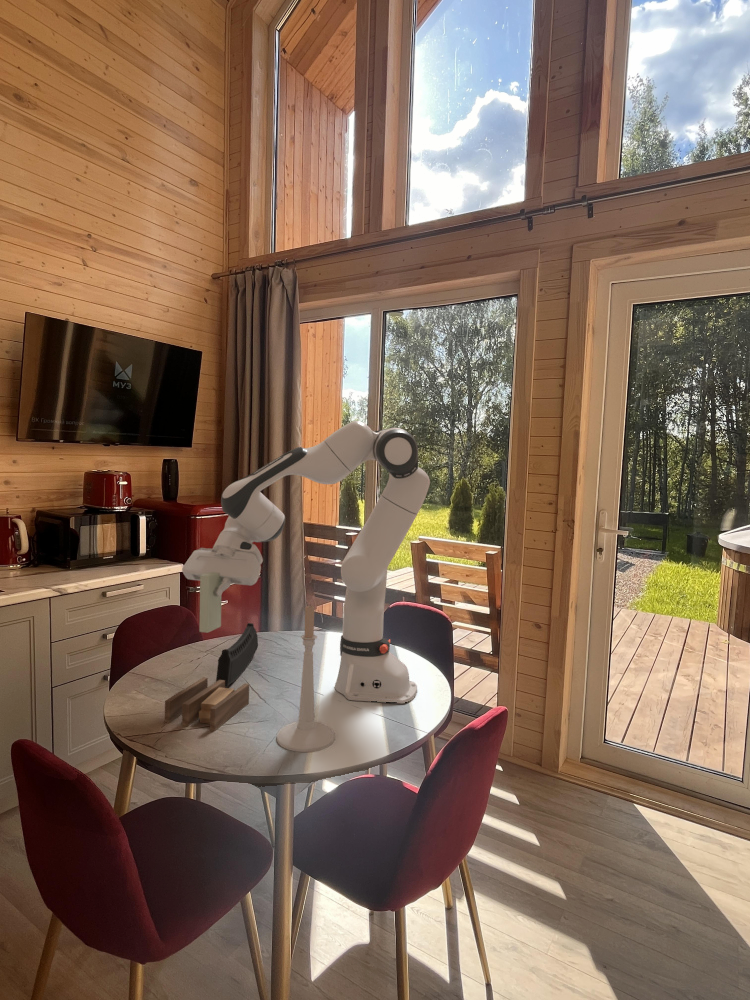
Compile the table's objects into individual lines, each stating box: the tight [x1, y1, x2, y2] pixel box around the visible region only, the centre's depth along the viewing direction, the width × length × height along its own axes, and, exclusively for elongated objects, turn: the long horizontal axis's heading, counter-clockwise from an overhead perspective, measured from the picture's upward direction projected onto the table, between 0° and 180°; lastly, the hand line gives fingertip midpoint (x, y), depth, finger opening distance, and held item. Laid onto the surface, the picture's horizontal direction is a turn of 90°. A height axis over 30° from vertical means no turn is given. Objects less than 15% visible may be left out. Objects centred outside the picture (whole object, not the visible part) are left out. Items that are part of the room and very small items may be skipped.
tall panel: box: [198, 572, 222, 633], centre depth 144 cm, size 2×6×14 cm, turn 164°
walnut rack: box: [164, 676, 250, 732], centre depth 138 cm, size 13×16×5 cm
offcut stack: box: [199, 687, 235, 724], centre depth 138 cm, size 4×11×4 cm, turn 171°
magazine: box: [215, 622, 259, 688], centre depth 165 cm, size 17×3×30 cm
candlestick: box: [276, 605, 336, 753], centre depth 127 cm, size 13×13×30 cm
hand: (209, 594), depth 143 cm, fingers closed on tall panel, 2 cm apart
